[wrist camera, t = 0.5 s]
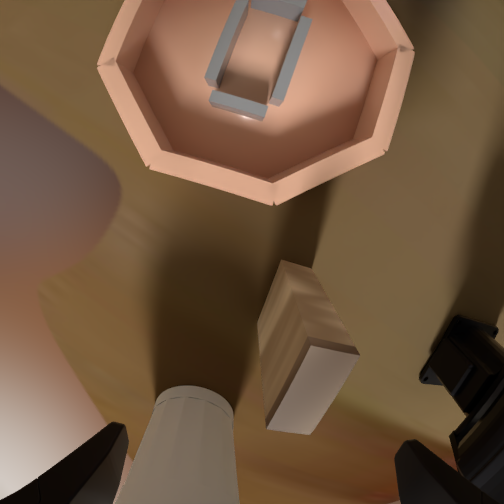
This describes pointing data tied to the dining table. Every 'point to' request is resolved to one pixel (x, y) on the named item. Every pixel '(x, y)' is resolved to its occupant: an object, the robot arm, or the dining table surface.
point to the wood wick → (301, 351)
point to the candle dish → (257, 88)
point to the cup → (185, 452)
